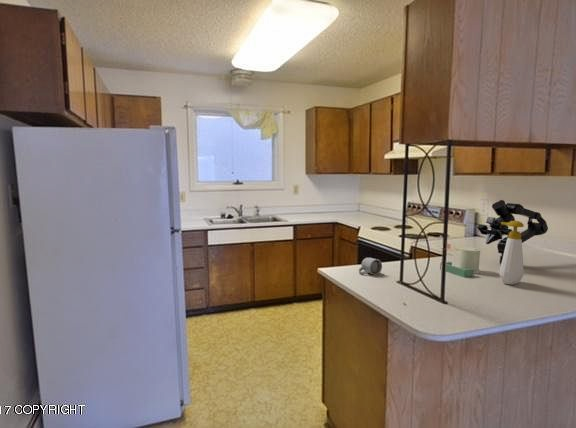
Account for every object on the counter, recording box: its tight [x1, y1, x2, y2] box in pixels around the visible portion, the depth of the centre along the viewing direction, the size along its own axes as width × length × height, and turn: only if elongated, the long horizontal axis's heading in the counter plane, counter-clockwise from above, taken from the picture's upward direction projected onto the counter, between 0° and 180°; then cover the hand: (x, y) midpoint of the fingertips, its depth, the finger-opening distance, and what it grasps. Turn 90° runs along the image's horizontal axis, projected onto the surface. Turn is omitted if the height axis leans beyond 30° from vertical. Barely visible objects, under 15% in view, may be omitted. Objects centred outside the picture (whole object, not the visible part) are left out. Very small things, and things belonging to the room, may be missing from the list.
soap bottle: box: [499, 220, 525, 286], centre depth 162 cm, size 13×10×29 cm
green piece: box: [439, 243, 475, 278], centre depth 178 cm, size 6×15×14 cm, turn 22°
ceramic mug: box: [358, 257, 383, 276], centre depth 177 cm, size 11×8×8 cm
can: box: [459, 246, 481, 274], centre depth 182 cm, size 9×9×12 cm
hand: (486, 243), depth 185 cm, fingers closed
